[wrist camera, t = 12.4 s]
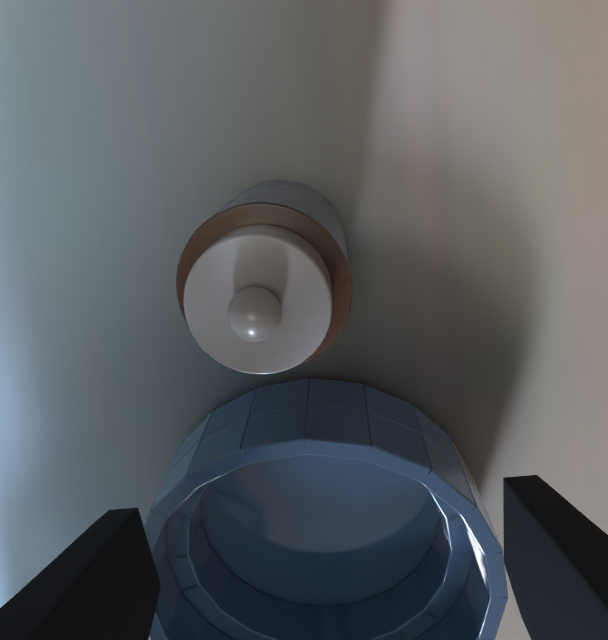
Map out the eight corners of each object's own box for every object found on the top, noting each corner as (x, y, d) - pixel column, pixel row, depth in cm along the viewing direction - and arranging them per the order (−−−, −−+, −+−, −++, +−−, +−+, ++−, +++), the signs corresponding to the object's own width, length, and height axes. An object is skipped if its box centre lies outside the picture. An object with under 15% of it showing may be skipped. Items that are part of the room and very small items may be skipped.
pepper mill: (199, 275, 18) (119, 367, 11) (247, 157, 17) (189, 179, 10) (312, 326, 19) (302, 444, 12) (368, 215, 17) (395, 276, 10)
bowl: (271, 650, 25) (258, 758, 20) (110, 456, 21) (56, 538, 17) (519, 554, 22) (564, 656, 18) (382, 314, 18) (398, 370, 14)
